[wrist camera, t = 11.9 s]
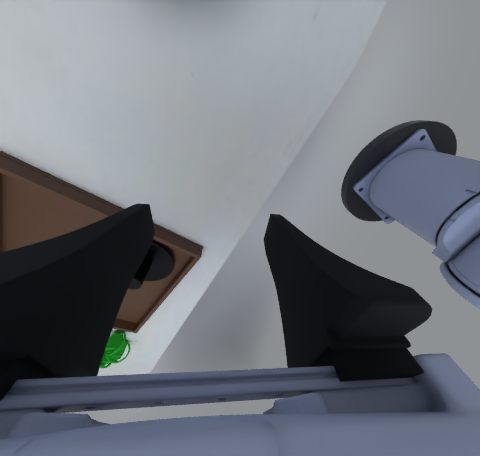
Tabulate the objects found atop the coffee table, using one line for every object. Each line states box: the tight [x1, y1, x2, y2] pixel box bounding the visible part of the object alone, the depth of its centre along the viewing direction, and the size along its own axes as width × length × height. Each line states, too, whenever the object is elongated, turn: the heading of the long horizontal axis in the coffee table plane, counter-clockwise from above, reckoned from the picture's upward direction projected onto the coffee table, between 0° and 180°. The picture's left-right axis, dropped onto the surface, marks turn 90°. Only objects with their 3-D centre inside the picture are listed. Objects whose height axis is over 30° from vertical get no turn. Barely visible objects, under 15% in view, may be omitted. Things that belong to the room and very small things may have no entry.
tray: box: [0, 151, 203, 333], centre depth 24 cm, size 21×25×2 cm
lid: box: [128, 241, 175, 290], centre depth 22 cm, size 8×8×4 cm
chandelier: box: [100, 331, 130, 368], centre depth 34 cm, size 15×15×7 cm
